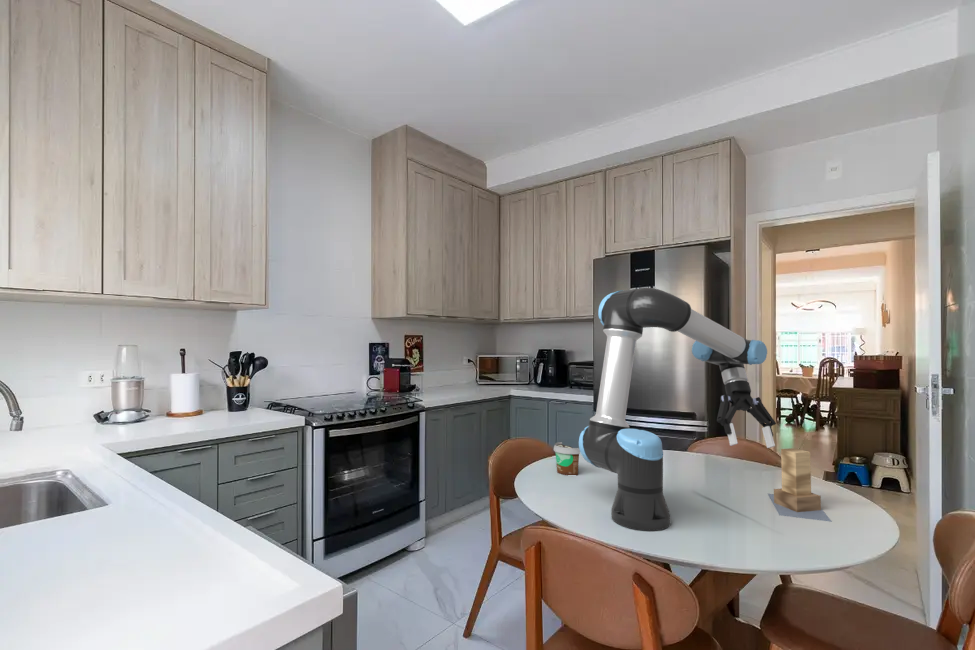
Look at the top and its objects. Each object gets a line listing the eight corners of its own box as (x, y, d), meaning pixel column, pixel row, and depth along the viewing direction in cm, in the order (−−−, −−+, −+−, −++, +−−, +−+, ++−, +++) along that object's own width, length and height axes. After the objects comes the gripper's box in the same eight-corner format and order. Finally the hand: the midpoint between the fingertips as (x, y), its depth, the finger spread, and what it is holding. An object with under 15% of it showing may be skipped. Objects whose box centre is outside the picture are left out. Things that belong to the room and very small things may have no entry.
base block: (820, 510, 132) (820, 495, 133) (797, 512, 131) (796, 497, 131) (796, 500, 140) (796, 487, 140) (774, 502, 138) (773, 489, 139)
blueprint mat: (832, 523, 124) (832, 521, 124) (779, 517, 129) (779, 515, 129) (812, 500, 142) (812, 498, 142) (767, 495, 147) (767, 493, 147)
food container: (547, 469, 176) (547, 442, 177) (560, 467, 179) (560, 441, 179) (565, 478, 165) (565, 449, 166) (580, 476, 168) (580, 448, 168)
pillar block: (811, 494, 134) (810, 452, 134) (796, 495, 133) (795, 452, 133) (796, 489, 139) (795, 448, 139) (781, 490, 138) (781, 448, 138)
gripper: (760, 390, 165) (777, 450, 155) (696, 384, 160) (710, 446, 150) (776, 382, 159) (795, 445, 148) (710, 376, 154) (725, 440, 144)
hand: (752, 446), depth 149 cm, fingers open, 13 cm apart
